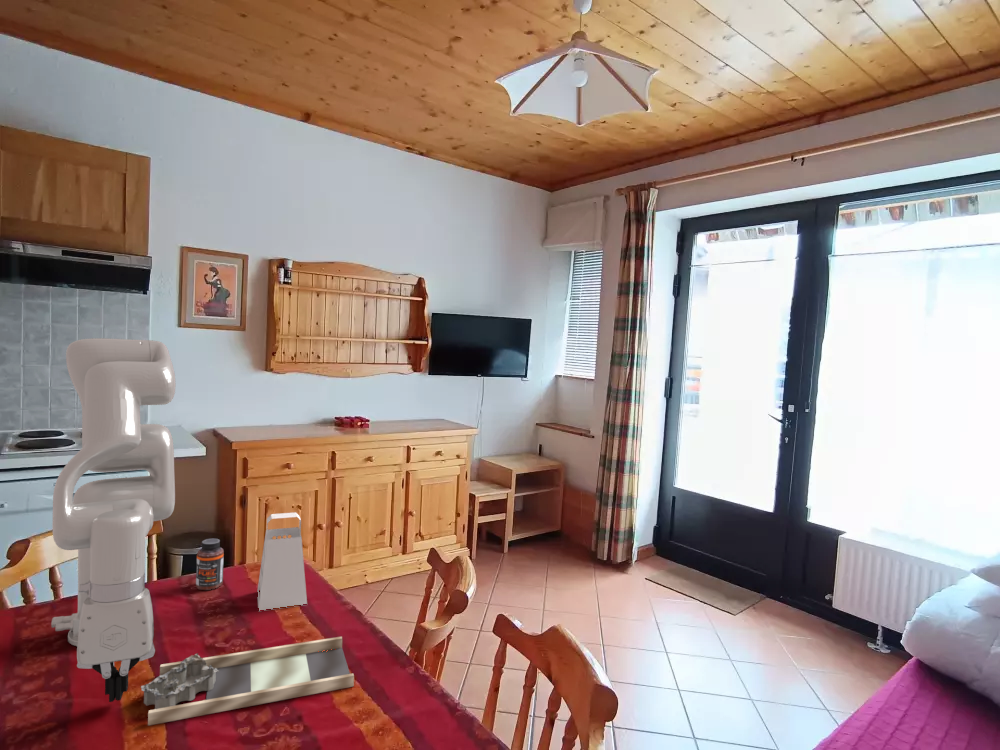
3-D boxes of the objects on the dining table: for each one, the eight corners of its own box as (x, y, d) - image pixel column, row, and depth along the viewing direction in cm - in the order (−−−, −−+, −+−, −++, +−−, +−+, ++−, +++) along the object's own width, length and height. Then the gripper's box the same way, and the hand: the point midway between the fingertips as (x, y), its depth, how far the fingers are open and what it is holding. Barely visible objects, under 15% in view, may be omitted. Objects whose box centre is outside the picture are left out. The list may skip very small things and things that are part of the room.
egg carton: (199, 672, 107) (200, 650, 106) (222, 687, 102) (223, 664, 102) (137, 700, 98) (137, 677, 97) (159, 718, 93) (159, 693, 93)
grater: (257, 592, 140) (259, 510, 139) (302, 586, 145) (305, 507, 144) (258, 611, 131) (260, 524, 130) (307, 604, 135) (309, 520, 134)
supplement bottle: (194, 592, 138) (195, 546, 138) (196, 582, 144) (197, 538, 143) (222, 589, 141) (223, 543, 140) (223, 579, 146) (224, 535, 146)
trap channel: (148, 725, 92) (148, 713, 92) (160, 675, 105) (160, 664, 105) (353, 686, 105) (354, 675, 104) (341, 646, 118) (341, 636, 118)
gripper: (55, 603, 88) (54, 720, 89) (167, 590, 94) (165, 700, 95) (68, 584, 95) (68, 693, 96) (172, 573, 101) (171, 676, 102)
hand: (116, 696), depth 96 cm, fingers closed
